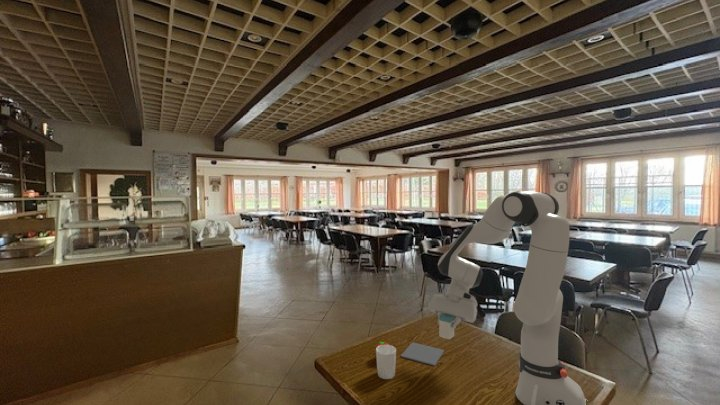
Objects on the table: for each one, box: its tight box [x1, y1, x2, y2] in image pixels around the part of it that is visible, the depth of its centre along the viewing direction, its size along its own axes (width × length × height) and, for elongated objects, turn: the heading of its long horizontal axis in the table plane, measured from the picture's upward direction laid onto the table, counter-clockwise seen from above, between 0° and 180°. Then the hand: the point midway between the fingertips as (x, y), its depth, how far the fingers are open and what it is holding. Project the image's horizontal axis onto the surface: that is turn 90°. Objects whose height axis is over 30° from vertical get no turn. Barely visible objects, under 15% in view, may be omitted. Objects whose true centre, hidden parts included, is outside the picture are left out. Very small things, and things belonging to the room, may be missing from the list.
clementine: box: [376, 341, 390, 348], centre depth 135 cm, size 8×7×7 cm
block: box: [438, 314, 455, 340], centre depth 130 cm, size 4×4×8 cm
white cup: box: [375, 344, 397, 380], centre depth 123 cm, size 8×8×10 cm
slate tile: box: [400, 341, 445, 367], centre depth 139 cm, size 15×14×1 cm
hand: (446, 325), depth 130 cm, fingers closed on block, 4 cm apart
